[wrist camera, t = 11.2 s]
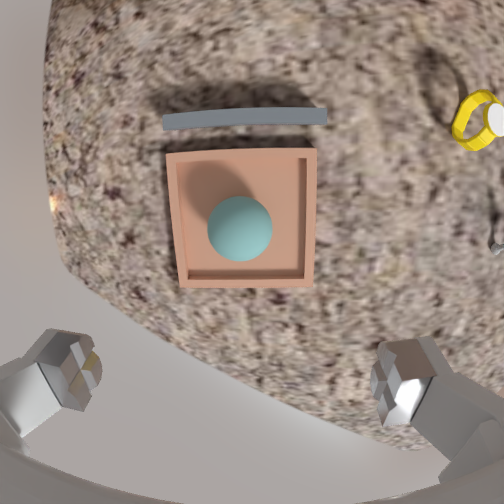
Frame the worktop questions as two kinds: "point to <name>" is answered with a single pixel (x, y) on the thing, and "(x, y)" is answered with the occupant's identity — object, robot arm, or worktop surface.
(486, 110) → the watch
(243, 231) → the ball
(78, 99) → the worktop surface
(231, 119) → the block
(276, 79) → the worktop surface
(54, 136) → the worktop surface
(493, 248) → the molecular model
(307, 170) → the dish
